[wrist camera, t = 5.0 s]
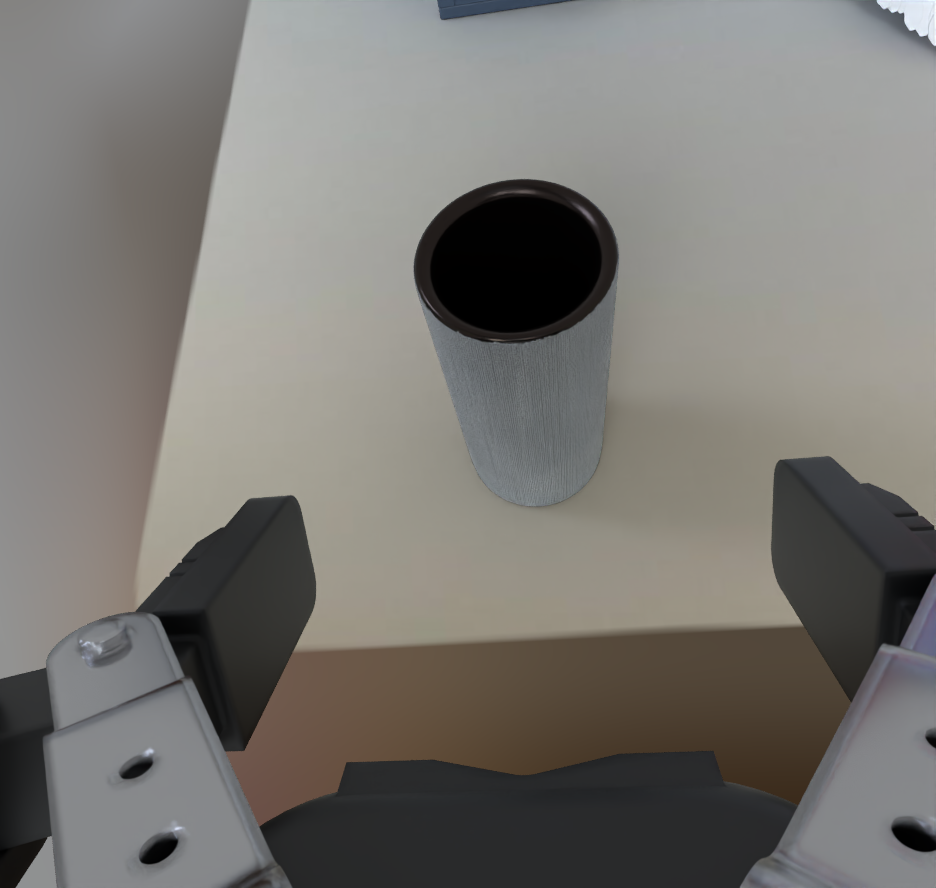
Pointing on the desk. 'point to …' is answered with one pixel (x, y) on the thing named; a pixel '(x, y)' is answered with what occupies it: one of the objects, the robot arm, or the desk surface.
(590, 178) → the desk surface
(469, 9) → the sorter
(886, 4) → the pincushion
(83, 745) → the robot arm
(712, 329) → the desk surface
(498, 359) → the planter
